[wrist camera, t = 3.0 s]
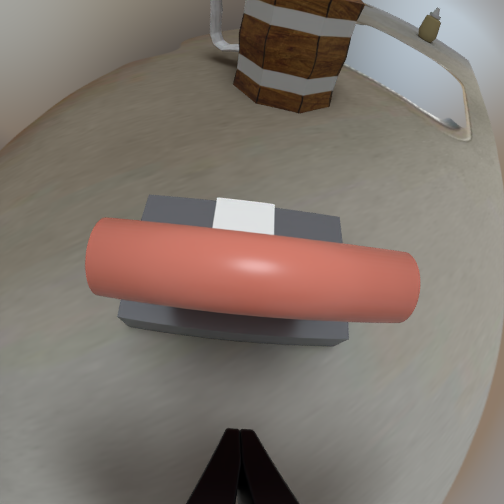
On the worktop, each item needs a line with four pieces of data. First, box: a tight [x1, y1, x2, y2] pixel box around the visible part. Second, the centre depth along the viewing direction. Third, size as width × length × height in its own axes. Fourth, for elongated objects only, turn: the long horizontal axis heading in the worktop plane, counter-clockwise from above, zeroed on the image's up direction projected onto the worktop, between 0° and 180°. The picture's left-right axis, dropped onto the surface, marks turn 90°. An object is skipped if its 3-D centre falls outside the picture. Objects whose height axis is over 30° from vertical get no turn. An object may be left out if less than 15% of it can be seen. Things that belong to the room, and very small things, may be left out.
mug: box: [210, 0, 365, 113], centre depth 28 cm, size 20×14×15 cm
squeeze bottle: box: [419, 8, 441, 43], centre depth 69 cm, size 8×8×18 cm
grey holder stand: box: [117, 195, 349, 346], centre depth 18 cm, size 9×14×4 cm, turn 86°
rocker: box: [85, 217, 420, 323], centre depth 11 cm, size 2×8×11 cm, turn 85°
